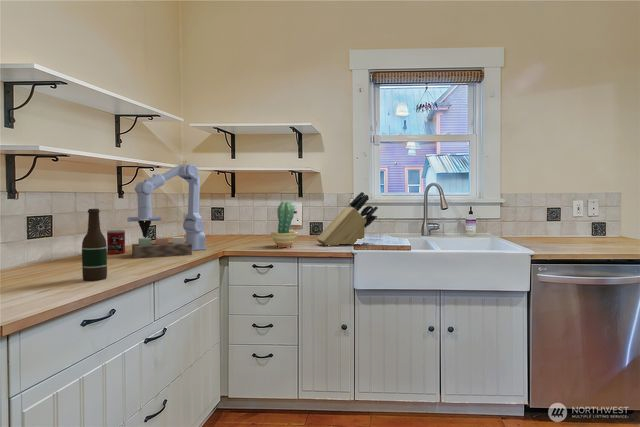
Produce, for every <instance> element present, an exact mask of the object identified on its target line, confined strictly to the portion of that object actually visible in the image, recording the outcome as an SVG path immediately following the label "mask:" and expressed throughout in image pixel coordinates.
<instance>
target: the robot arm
mask: <svg viewBox="0 0 640 427" xmlns="http://www.w3.org/2000/svg"><path fill="white" fill-rule="evenodd" d="M177 176H178V177H180V178H182V179H183V180H185V181H186V182H187V183H188V202H187V214H186V215H185V216H184V221H183V222H182V227H183V230H184V232H185V241H187V242H188V243H190V244H192V251H198V250H199V251H202V250H203V251H205V250H207V248H206V234H205V232H204V231H203V229H204V221H203V217H202V215H200V190H201V179H200V176H199V168H198V167H197V166H196V165H195V164H193V163H190V164H178V165H176V166H174V167H172V168H171V169H169V170H168V171H165V172H164V173H162V174H157V173H155V174H152V176H151V177H149V178H145V179H144V180H143V181H139V182H137V184H136V185H135V187H134V191H135V193H136V197H137V216H130V217H129V216H127V218H126V220H127V222H137V223H138V225H139V227H140V229H141V233H142V237H143V238H148V237H147V236H148V231H149V229H150V227H151V225H152V222H161V221H162V216H152V194H153V192H154V191H155V190H156V189H159V188H161V187H162V186H164V185H165V182H166V181H168V180H170V179H172V178H174V177H177Z"/></svg>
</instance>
